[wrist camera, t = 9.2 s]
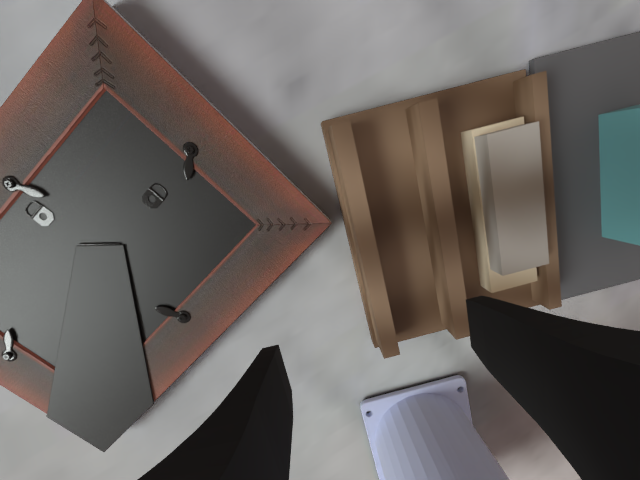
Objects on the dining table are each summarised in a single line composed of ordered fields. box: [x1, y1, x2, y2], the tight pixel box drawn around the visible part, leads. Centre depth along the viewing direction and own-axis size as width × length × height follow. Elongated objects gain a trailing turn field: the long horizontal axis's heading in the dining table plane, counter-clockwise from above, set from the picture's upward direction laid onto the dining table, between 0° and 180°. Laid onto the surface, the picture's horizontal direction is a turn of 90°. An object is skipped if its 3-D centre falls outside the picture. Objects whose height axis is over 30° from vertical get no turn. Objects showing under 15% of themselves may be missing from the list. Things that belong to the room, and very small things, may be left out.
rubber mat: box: [529, 32, 640, 300], centre depth 20 cm, size 16×10×1 cm, turn 14°
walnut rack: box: [321, 69, 562, 359], centre depth 19 cm, size 15×12×3 cm
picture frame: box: [0, 0, 332, 452], centre depth 19 cm, size 16×2×22 cm
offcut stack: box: [461, 116, 549, 293], centre depth 18 cm, size 10×3×2 cm, turn 14°
